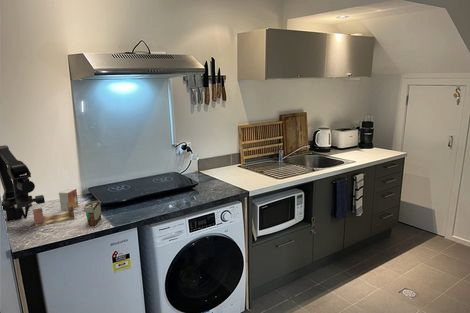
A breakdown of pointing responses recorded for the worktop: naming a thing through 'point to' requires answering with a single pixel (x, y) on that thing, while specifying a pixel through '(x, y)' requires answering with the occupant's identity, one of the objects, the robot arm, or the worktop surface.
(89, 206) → the food container
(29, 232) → the worktop surface
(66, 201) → the small box
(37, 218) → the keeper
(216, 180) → the worktop surface
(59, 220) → the rail
